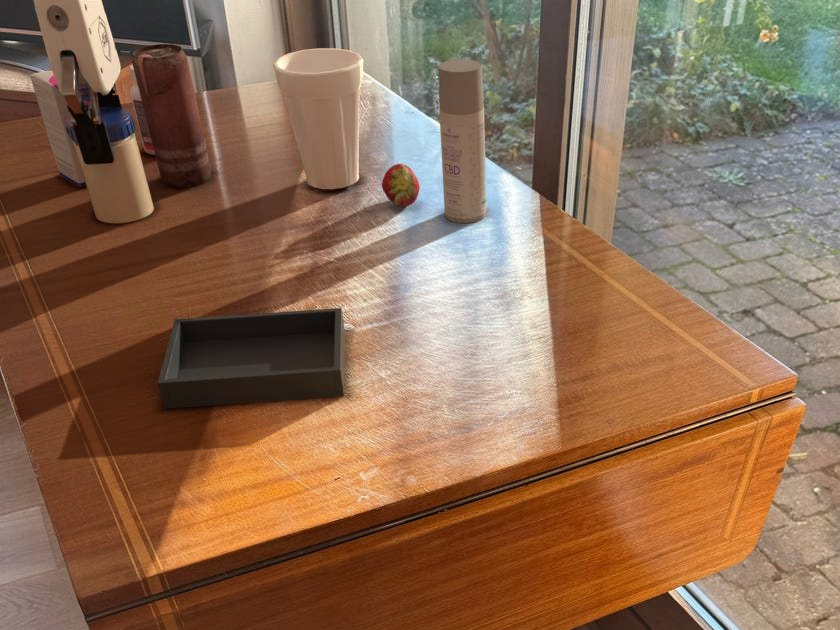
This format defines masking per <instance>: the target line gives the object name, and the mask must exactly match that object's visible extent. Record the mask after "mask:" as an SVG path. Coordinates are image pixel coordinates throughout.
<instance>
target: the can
mask: <svg viewBox="0 0 840 630" xmlns="http://www.w3.org/2000/svg"><path fill="white" fill-rule="evenodd" d="M132 54H133V56H132V60H131V65H133V68H134V72H135V76H136V80H137V84H138V88H139V92H140V96H141V100H142V104H143V108H144V112H145V116H146V120H147V124H148V128H149V132H150V136H151V140H152V144H153V148H154V152H155V155H154V157H155V160H156V164H157V168H158V172H159V176H160V179H161V181H163V183H164V184H166V185H167V186H169V187H171V188H191V187H195V186H199V185H202V184H204V183H206V182H208V181H209V179H210V177H211V175H212V168H211V163H210V159H209V153H208V148H207V145H206V140H205V134H204V129H203V125H202V120H201V116H200V111H199V107H198V102H197V97H196V93H195V87H194V82H193V78H192V74H191V73H192V72H191V69H190V64H189V60H188V56H187V54H186V52H184V50H183V48H182V46H180V45H177V44H172V43H158V44H157V43H156V44H151V45H146V46H142V47H139V48H137V49H134V50H133V52H132Z"/></svg>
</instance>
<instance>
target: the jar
mask: <svg viewBox="0 0 840 630" xmlns="http://www.w3.org/2000/svg"><path fill="white" fill-rule="evenodd" d="M111 146H112V150H113V154H114V157H115V160H114V162H113V163H109V164H93V165H87V164H85V163H84V161H83V158H82V154H81V151H80V148H79V144H78V143H76V142H74V147H75V150H76V153H77V156H78V160H79V163H80V166H81V170H82V173H83V176H84V180H85V183H86V186H85V187H86V190H87V193H88V196H89V199H90V202H91V206H92V209H93V212H94V216H95V218H96V220H98V221H99V222H102V223H107V224H127V223H132V222H133V223H134V222H136V221H139V220H142V219H144V218H146V217H148V216H150V215H151V214H152V213H153V212H154V209H155V207H154V202H153V198H152V195H151V191H150V187H149V183H148V179H147V175H146V171H145V168H144V164H143V163H144V162H143V160H142V159H143V158H142V156H141V152H140V147H139V145H138V140H137V138H136V134H135V132H134V133H133V134H132V135H131V136H130V137H128V138H126V139H123V140H120V141H117V142H113V143H111Z"/></svg>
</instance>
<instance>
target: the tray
mask: <svg viewBox="0 0 840 630" xmlns="http://www.w3.org/2000/svg"><path fill="white" fill-rule="evenodd" d="M343 315H344V314H343V308H342V307H334V308H333V307H332V308H321V309H303V310H291V311H276V312H261V313H259V312H258V313H246V314H230V315H217V316H202V317H187V318H175V319H174V321H173V324H172V328H171V331H170V335H169V339H168V343H167V347H166V351H165V355H164V358H163V361H162V364H161V370H160V373H159V377H158V381H157V386H158V389H159V393H160V396H161V401H162V403H163V406H164V407H163V408H164V410H170V409H172V410H173V409H184V408H185V409H187V408H198V407H199V408H200V407H211V406H213V407H214V406H227V405H239V404H240V405H241V404H256V403H269V402H282V401H297V400H298V401H299V400H309V399H310V400H311V399H324V398H338V397H344V396H345V373H346V372H345V367H346V366H345V364H346V363H345V361H346V360H345V359H346V331H345V322H344V316H343Z"/></svg>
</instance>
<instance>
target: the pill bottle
mask: <svg viewBox="0 0 840 630" xmlns="http://www.w3.org/2000/svg"><path fill="white" fill-rule="evenodd" d="M129 72H130V77H131V80H132V81H133V82H134V84H133V85H132V86H131V87H130V89H129V97H130V100H131V104H132V109H133V111H134V116H135V119H136V123H137V129H138V132H139V135H140V140H141V144H142V148H143V150H144V152H145V153H146V154H148V155H151V156H155V152H154V148H153V144H152V140H151V136H150V132H149V128H148V124H147V120H146V116H145V112H144V108H143V104H142V100H141V96H140V92H139V88H138V84H137V80H136V76H135V72H134V68H133V64H131V65H130V66H129Z"/></svg>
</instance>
